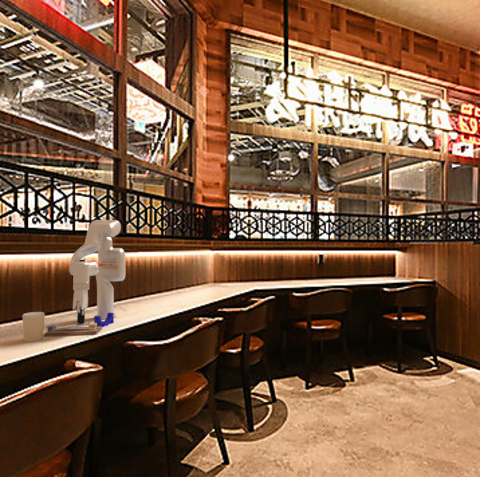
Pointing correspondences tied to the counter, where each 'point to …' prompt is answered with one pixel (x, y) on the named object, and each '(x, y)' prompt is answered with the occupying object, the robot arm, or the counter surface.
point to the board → (73, 330)
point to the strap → (72, 326)
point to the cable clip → (108, 320)
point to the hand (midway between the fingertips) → (80, 323)
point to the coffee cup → (33, 326)
